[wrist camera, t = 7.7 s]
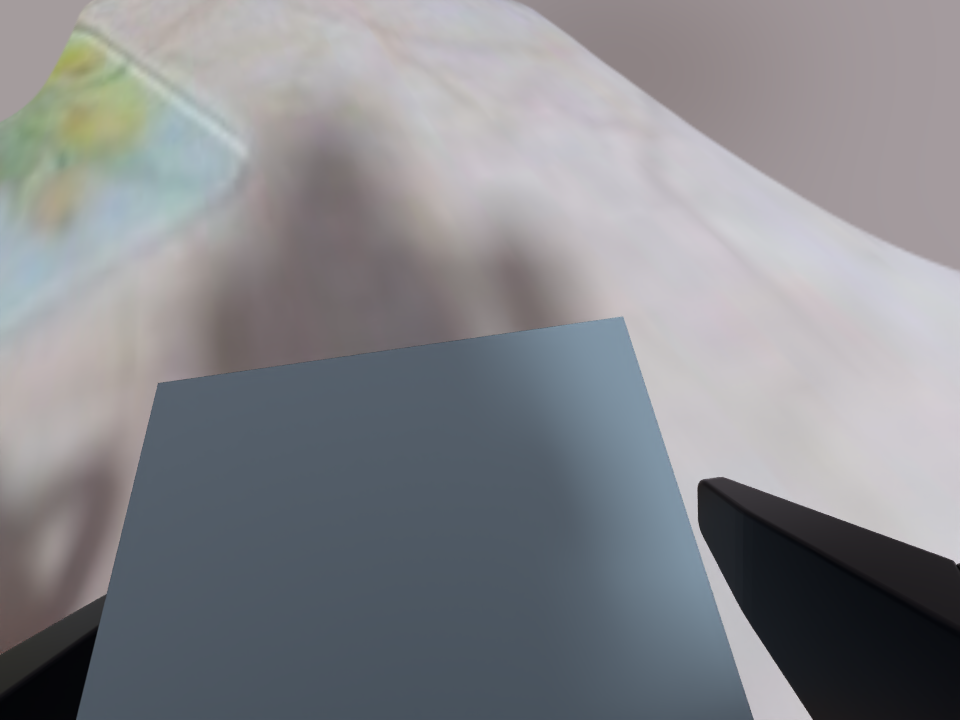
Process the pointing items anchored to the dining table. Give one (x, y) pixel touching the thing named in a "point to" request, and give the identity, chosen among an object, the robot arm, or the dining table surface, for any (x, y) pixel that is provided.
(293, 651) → the blue block
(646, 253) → the dining table surface
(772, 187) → the dining table surface
